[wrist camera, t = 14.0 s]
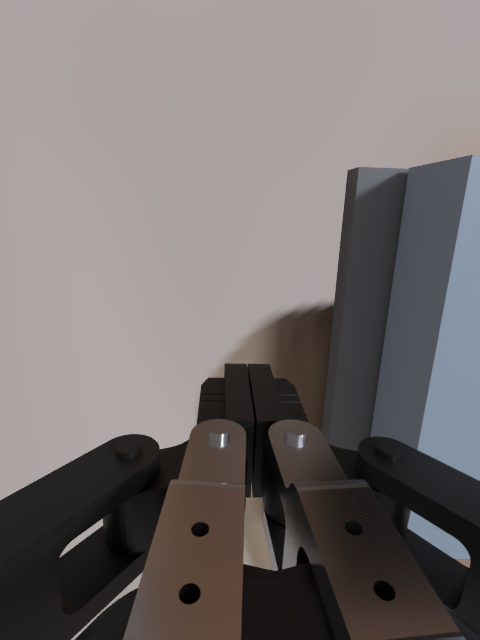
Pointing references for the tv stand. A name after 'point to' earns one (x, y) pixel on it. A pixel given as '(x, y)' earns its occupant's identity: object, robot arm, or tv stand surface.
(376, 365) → the panel
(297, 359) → the tv stand surface
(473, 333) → the vise jaw
